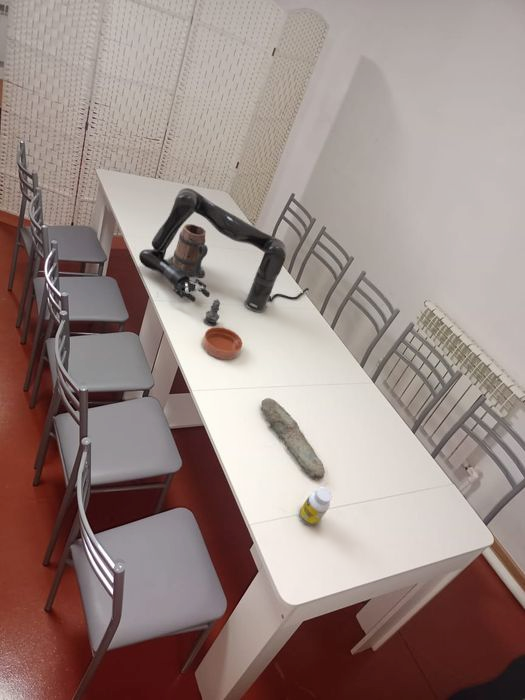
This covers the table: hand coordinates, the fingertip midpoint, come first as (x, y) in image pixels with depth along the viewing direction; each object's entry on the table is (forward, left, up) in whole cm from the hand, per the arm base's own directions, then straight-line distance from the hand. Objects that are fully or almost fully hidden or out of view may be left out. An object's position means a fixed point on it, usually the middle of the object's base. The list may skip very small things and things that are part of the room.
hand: (201, 297), depth 203 cm
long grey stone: (+22, +69, -7) cm, 73 cm away
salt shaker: (0, +8, -7) cm, 11 cm away
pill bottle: (+41, +91, -7) cm, 100 cm away
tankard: (-19, -26, -7) cm, 33 cm away
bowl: (+8, +22, -7) cm, 24 cm away
